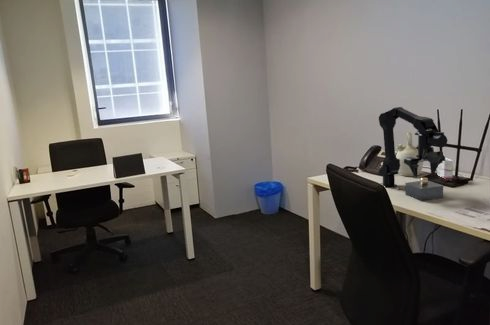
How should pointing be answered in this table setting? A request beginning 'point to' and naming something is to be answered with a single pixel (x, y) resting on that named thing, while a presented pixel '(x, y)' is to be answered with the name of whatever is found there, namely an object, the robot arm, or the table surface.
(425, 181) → the plunger
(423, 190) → the block
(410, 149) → the jug
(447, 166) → the ink cartridge box
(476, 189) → the table surface
